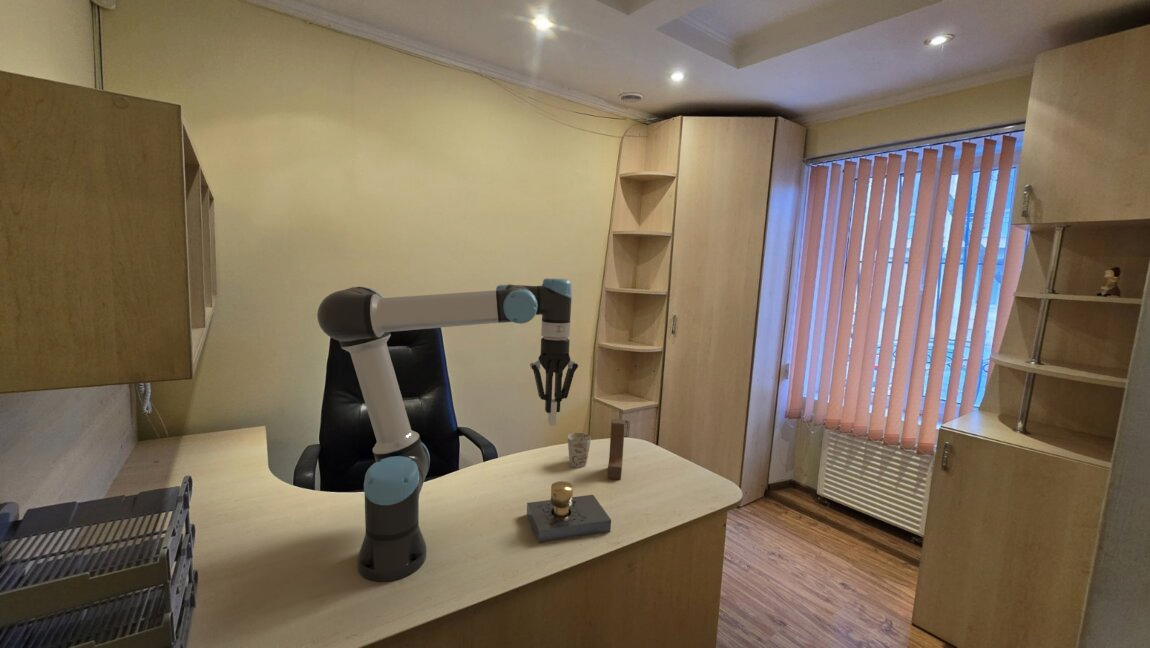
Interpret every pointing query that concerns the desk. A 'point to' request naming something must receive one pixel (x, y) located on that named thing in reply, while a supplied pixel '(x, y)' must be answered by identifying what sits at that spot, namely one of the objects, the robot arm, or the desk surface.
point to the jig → (568, 519)
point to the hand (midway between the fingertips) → (552, 423)
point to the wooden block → (616, 449)
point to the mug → (578, 449)
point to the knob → (561, 498)
